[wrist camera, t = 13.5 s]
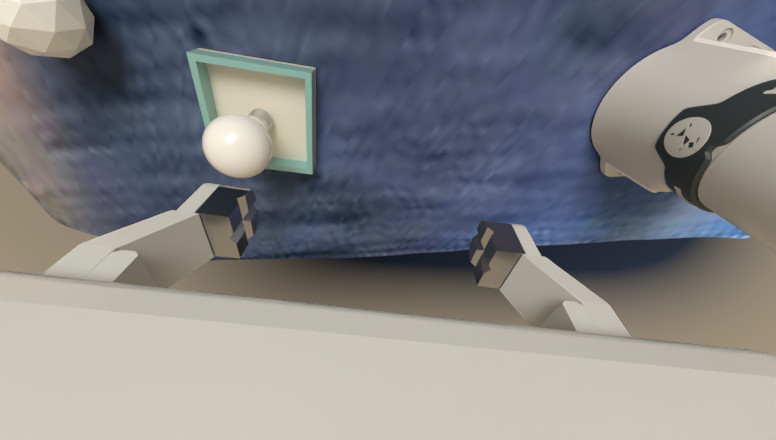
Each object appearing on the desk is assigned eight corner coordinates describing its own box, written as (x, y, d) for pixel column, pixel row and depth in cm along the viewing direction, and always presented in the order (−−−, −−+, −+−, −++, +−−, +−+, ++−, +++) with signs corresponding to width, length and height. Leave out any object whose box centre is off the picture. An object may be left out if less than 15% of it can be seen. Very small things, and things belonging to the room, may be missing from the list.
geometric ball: (65, -6, 30) (-79, -68, 22) (111, -19, 27) (-36, -95, 19) (74, 72, 31) (-59, 38, 23) (119, 66, 28) (-16, 26, 21)
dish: (315, 67, 32) (311, 72, 30) (315, 165, 40) (312, 174, 38) (199, 48, 30) (186, 52, 28) (222, 153, 38) (213, 162, 36)
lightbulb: (251, 146, 37) (214, 195, 29) (224, 96, 33) (172, 136, 25) (297, 137, 36) (273, 184, 28) (275, 85, 32) (240, 123, 24)
